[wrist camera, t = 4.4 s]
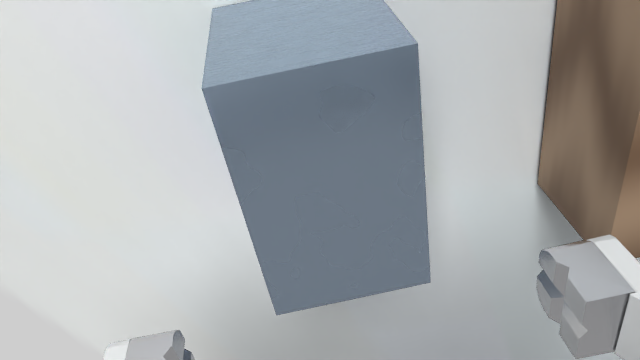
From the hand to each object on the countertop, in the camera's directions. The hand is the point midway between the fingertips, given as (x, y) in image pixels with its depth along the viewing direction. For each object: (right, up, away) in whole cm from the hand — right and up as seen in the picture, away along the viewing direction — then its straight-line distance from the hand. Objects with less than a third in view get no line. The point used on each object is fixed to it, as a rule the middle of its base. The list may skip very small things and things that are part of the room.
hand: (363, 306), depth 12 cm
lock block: (-1, +6, +7) cm, 9 cm away
